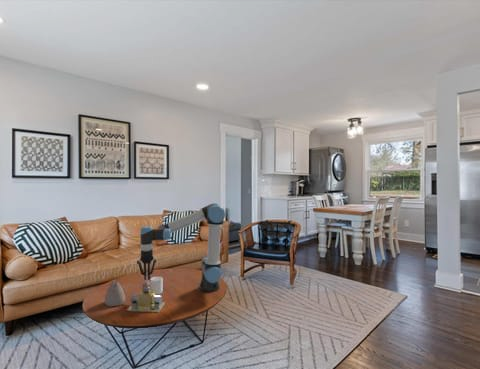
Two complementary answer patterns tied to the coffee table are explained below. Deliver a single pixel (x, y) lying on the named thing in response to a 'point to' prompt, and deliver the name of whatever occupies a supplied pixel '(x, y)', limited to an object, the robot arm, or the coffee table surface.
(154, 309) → the valve body
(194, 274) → the coffee table surface
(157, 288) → the mug
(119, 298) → the sculpture
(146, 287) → the lever
